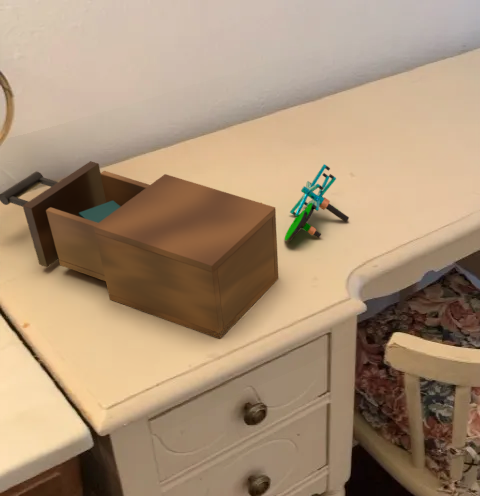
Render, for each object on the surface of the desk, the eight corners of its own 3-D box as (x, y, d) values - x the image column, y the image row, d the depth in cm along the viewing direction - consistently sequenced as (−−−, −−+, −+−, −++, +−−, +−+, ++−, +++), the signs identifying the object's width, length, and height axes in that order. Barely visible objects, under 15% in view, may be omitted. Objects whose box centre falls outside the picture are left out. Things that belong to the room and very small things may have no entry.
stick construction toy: (299, 180, 110) (327, 150, 104) (342, 210, 113) (372, 183, 106) (266, 248, 105) (293, 220, 98) (312, 278, 107) (341, 253, 101)
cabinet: (109, 299, 94) (93, 226, 87) (175, 244, 102) (164, 173, 96) (220, 339, 90) (211, 265, 83) (278, 278, 98) (275, 207, 92)
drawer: (-6, 248, 98) (-25, 189, 93) (59, 203, 106) (45, 147, 101) (135, 298, 93) (123, 239, 87) (193, 247, 100) (186, 190, 95)
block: (105, 262, 96) (97, 229, 93) (85, 245, 98) (78, 212, 95) (138, 248, 98) (132, 215, 95) (119, 232, 100) (112, 199, 97)
